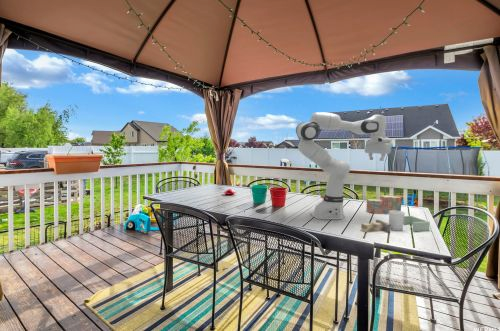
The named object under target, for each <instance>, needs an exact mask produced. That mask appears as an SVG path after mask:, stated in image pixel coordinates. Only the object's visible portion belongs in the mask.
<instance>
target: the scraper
mask: <svg viewBox="0 0 500 331" xmlns="http://www.w3.org/2000/svg"><path fill="white" fill-rule="evenodd" d="M360 231H361V232H363V233H371V232H372V233H373V232H382V231H383V232H384V233H387V234H388V233H391V229H390V224H389V222H385V221H383V220H380V219H376V220H375V222H369V223H368V222H366V223H364V222H363V223H361V227H360Z"/></svg>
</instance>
